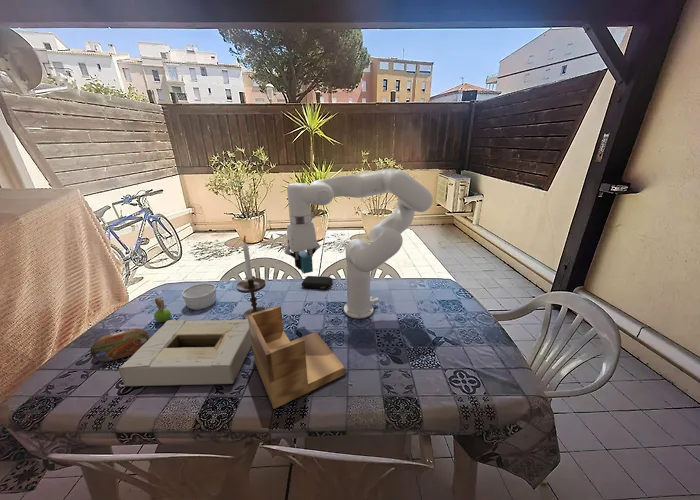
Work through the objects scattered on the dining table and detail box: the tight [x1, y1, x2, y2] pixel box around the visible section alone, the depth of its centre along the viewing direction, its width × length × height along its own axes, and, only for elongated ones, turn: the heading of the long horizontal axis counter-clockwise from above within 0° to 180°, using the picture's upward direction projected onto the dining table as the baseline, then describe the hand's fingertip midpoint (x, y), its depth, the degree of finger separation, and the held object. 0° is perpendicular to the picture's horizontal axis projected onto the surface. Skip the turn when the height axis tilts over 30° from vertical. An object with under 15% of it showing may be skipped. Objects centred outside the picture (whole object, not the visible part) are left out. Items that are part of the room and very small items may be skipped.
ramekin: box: [181, 282, 217, 311], centre depth 120 cm, size 13×13×7 cm
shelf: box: [247, 304, 346, 410], centre depth 82 cm, size 22×20×18 cm
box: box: [118, 318, 252, 387], centre depth 88 cm, size 23×8×32 cm
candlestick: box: [236, 234, 267, 319], centre depth 106 cm, size 11×11×35 cm
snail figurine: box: [153, 296, 171, 323], centre depth 106 cm, size 5×6×12 cm
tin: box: [89, 328, 150, 362], centre depth 90 cm, size 15×3×8 cm, turn 117°
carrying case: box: [301, 275, 334, 290], centre depth 136 cm, size 11×3×15 cm
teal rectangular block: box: [299, 250, 314, 274], centre depth 101 cm, size 4×9×6 cm, turn 30°
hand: (303, 266), depth 102 cm, fingers closed on teal rectangular block, 3 cm apart
